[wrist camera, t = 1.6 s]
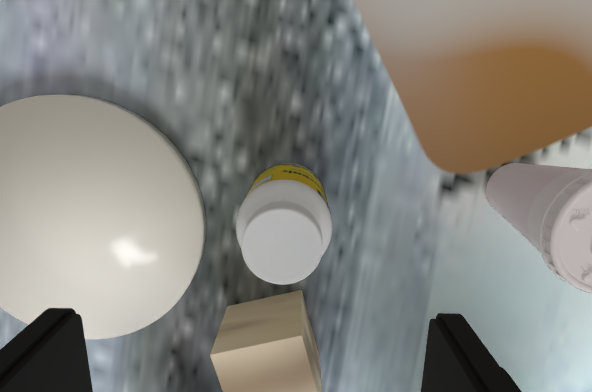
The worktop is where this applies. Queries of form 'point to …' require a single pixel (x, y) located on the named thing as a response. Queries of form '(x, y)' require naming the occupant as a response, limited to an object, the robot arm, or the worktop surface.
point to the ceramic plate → (94, 214)
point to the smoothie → (549, 214)
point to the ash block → (267, 347)
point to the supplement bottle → (284, 224)
